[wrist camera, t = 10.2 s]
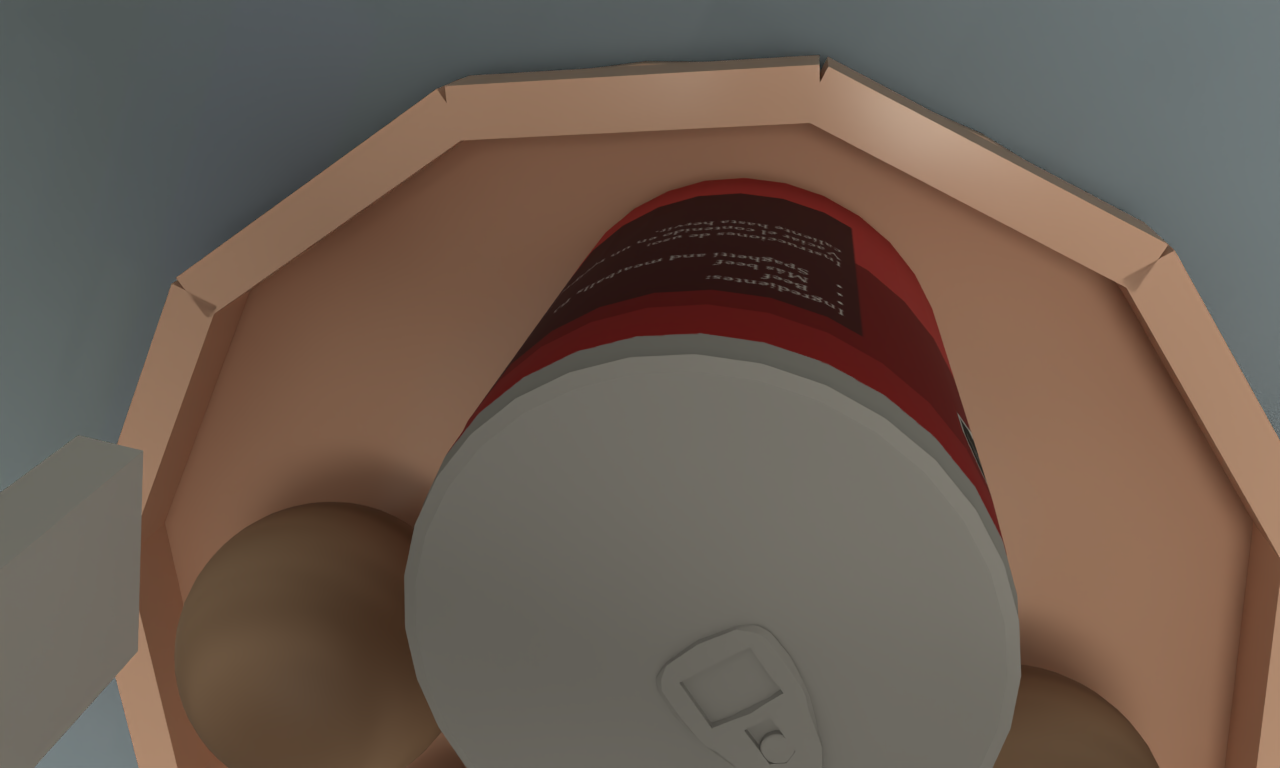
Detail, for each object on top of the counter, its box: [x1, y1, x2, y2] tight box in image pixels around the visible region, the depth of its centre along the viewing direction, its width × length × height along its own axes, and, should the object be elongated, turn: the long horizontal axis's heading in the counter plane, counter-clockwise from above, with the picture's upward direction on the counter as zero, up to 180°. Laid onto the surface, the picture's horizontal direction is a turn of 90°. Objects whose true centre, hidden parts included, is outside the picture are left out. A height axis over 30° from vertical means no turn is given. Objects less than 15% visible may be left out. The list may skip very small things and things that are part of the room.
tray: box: [115, 55, 1280, 768], centre depth 27 cm, size 26×26×2 cm
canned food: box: [404, 178, 1021, 768], centre depth 20 cm, size 8×8×11 cm
